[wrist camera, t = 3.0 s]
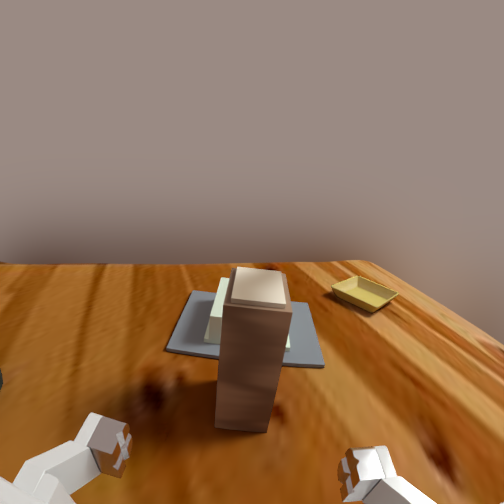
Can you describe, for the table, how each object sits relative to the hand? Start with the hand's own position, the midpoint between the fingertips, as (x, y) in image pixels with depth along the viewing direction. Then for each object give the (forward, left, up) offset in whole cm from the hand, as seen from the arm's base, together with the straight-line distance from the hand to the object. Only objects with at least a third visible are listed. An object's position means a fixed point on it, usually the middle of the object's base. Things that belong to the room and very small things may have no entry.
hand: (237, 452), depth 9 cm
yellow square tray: (-18, -36, -10) cm, 42 cm away
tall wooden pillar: (0, -12, -10) cm, 15 cm away
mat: (0, -25, -10) cm, 27 cm away
